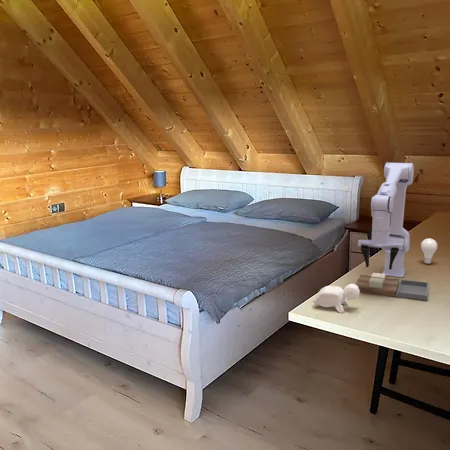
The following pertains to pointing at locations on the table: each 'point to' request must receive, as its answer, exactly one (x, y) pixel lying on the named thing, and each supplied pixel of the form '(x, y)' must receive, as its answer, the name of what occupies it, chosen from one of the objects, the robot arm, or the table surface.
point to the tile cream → (378, 276)
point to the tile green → (376, 282)
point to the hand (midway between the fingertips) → (378, 267)
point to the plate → (387, 289)
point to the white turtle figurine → (336, 296)
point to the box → (413, 290)
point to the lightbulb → (428, 249)
